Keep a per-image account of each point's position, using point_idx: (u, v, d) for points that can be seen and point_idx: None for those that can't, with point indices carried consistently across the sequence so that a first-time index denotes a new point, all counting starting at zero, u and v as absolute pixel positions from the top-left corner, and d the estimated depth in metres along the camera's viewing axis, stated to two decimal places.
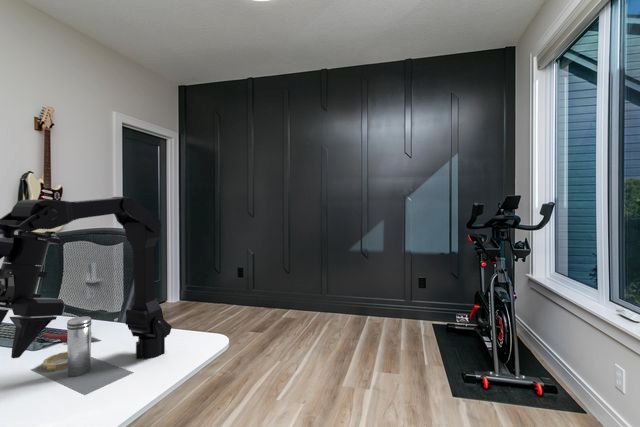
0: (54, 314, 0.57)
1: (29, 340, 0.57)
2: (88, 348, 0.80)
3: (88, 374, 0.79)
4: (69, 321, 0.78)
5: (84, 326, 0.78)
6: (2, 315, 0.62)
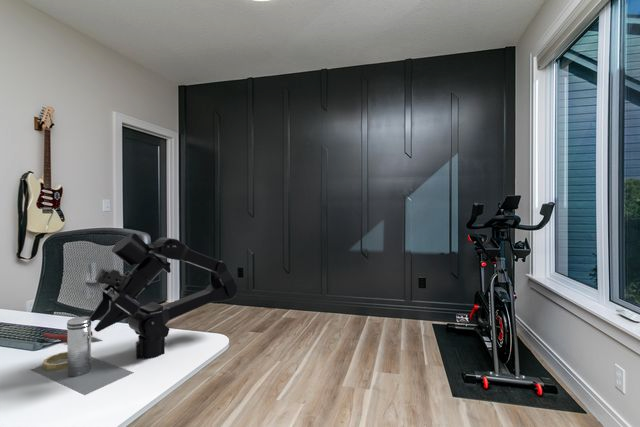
0: (129, 311, 0.78)
1: (109, 323, 0.79)
2: (88, 348, 0.79)
3: (88, 374, 0.79)
4: (69, 321, 0.78)
5: (84, 326, 0.78)
6: None
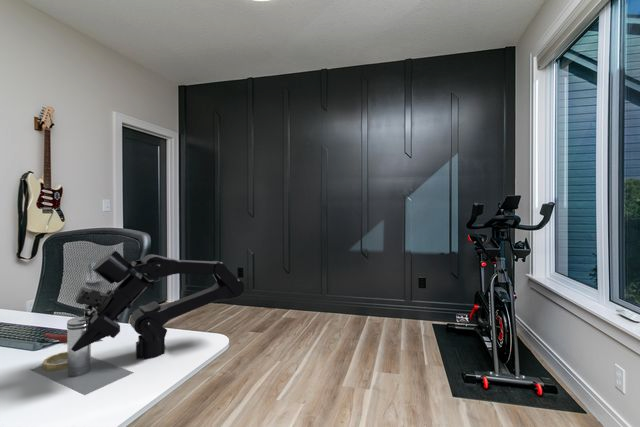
0: (108, 333, 0.75)
1: (86, 342, 0.78)
2: (88, 348, 0.80)
3: (88, 374, 0.79)
4: (69, 321, 0.78)
5: (84, 326, 0.78)
6: None
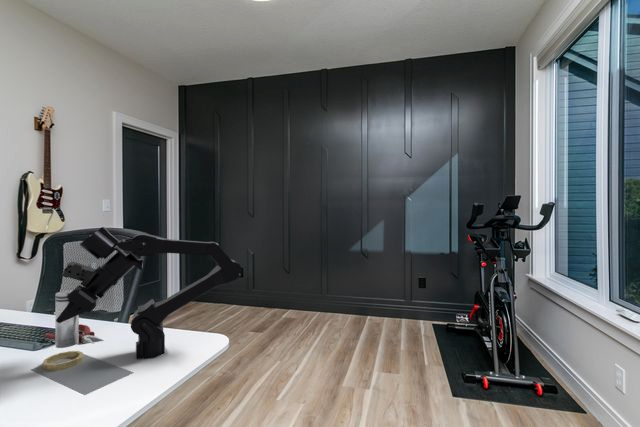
0: (82, 307, 0.75)
1: (69, 315, 0.79)
2: (74, 321, 0.81)
3: (88, 374, 0.79)
4: (57, 293, 0.80)
5: None
6: None
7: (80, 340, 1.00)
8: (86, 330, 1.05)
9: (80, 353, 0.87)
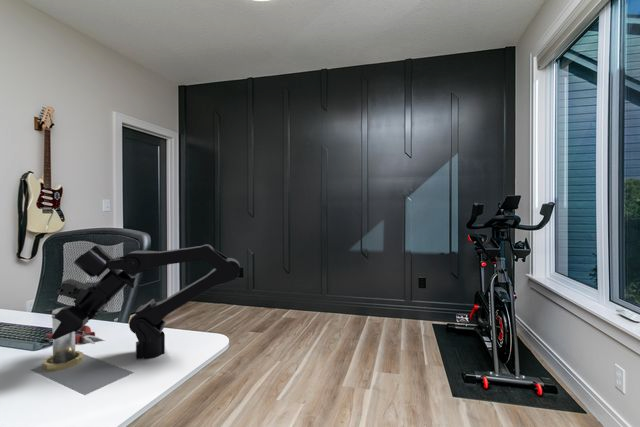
0: (69, 327, 0.76)
1: (63, 332, 0.81)
2: (69, 338, 0.83)
3: (88, 374, 0.79)
4: (54, 310, 0.83)
5: None
6: (87, 318, 0.88)
7: (81, 340, 1.00)
8: (87, 330, 1.04)
9: (80, 353, 0.87)
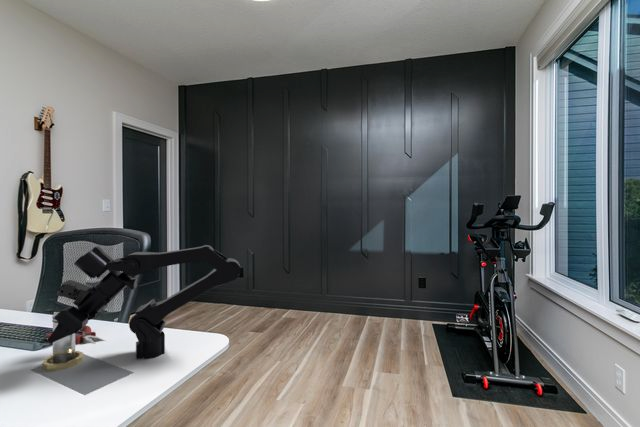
0: (69, 328, 0.76)
1: (59, 336, 0.79)
2: (69, 342, 0.83)
3: (88, 374, 0.79)
4: (55, 314, 0.83)
5: None
6: (89, 317, 0.90)
7: (81, 340, 1.00)
8: (87, 330, 1.04)
9: (80, 353, 0.87)
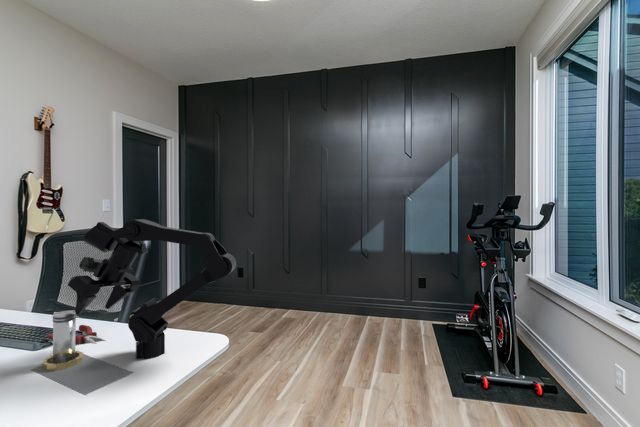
0: (78, 292, 0.80)
1: (81, 306, 0.83)
2: (69, 341, 0.83)
3: (88, 374, 0.79)
4: (55, 314, 0.83)
5: (64, 320, 0.82)
6: (123, 293, 0.93)
7: (82, 340, 0.99)
8: (88, 330, 1.04)
9: (80, 353, 0.87)
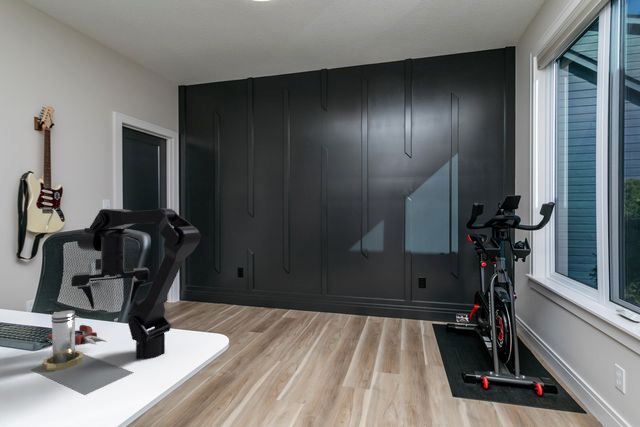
0: None
1: (88, 299, 0.90)
2: (69, 342, 0.83)
3: (88, 374, 0.79)
4: (54, 314, 0.83)
5: (63, 320, 0.82)
6: (133, 284, 0.95)
7: (82, 341, 0.99)
8: (88, 331, 1.04)
9: (80, 353, 0.87)
